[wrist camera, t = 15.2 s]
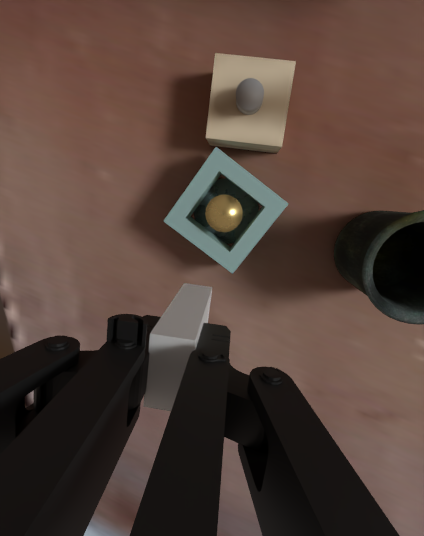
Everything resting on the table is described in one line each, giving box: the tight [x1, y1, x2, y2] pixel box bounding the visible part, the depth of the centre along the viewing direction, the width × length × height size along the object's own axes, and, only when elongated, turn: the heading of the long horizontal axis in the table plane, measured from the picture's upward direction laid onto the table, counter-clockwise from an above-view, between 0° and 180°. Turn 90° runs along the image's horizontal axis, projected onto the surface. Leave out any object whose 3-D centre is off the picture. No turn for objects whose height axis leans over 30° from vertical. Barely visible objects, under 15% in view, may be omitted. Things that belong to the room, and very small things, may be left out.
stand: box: [206, 53, 296, 153], centre depth 36 cm, size 8×8×7 cm
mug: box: [334, 210, 424, 324], centre depth 35 cm, size 11×15×12 cm
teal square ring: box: [164, 147, 288, 274], centre depth 38 cm, size 10×10×4 cm
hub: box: [194, 178, 259, 244], centre depth 38 cm, size 8×8×8 cm
